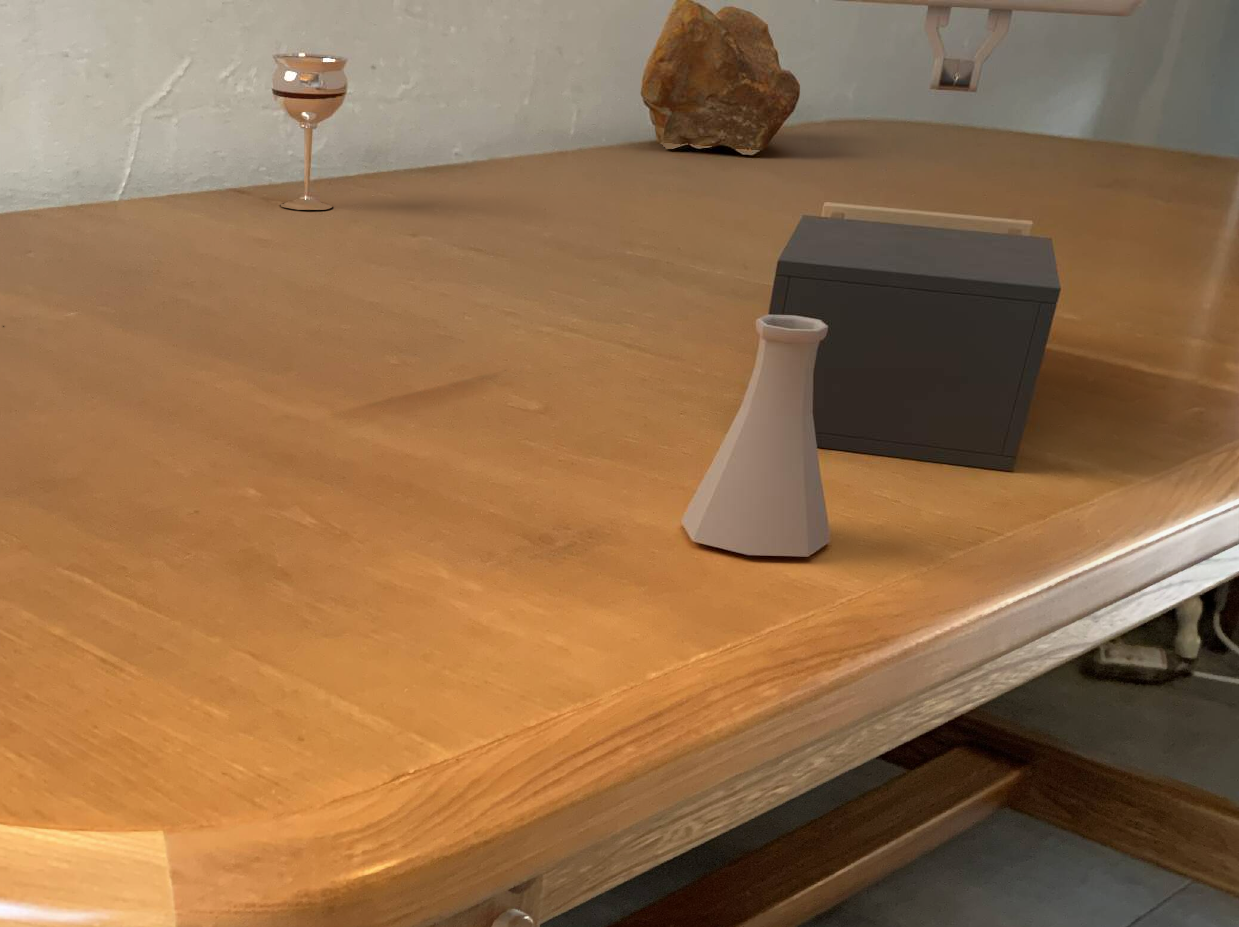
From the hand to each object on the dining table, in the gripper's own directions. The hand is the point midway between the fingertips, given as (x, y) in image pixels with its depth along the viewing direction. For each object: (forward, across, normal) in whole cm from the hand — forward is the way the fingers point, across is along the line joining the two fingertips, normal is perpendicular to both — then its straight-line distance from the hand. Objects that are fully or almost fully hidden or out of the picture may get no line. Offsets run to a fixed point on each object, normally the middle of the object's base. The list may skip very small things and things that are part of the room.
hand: (953, 89), depth 108 cm
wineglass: (+15, +54, -30) cm, 64 cm away
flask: (+16, +5, +46) cm, 48 cm away
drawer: (+15, 0, +5) cm, 16 cm away
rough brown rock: (+16, +25, -93) cm, 97 cm away
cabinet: (+16, 0, +20) cm, 26 cm away
